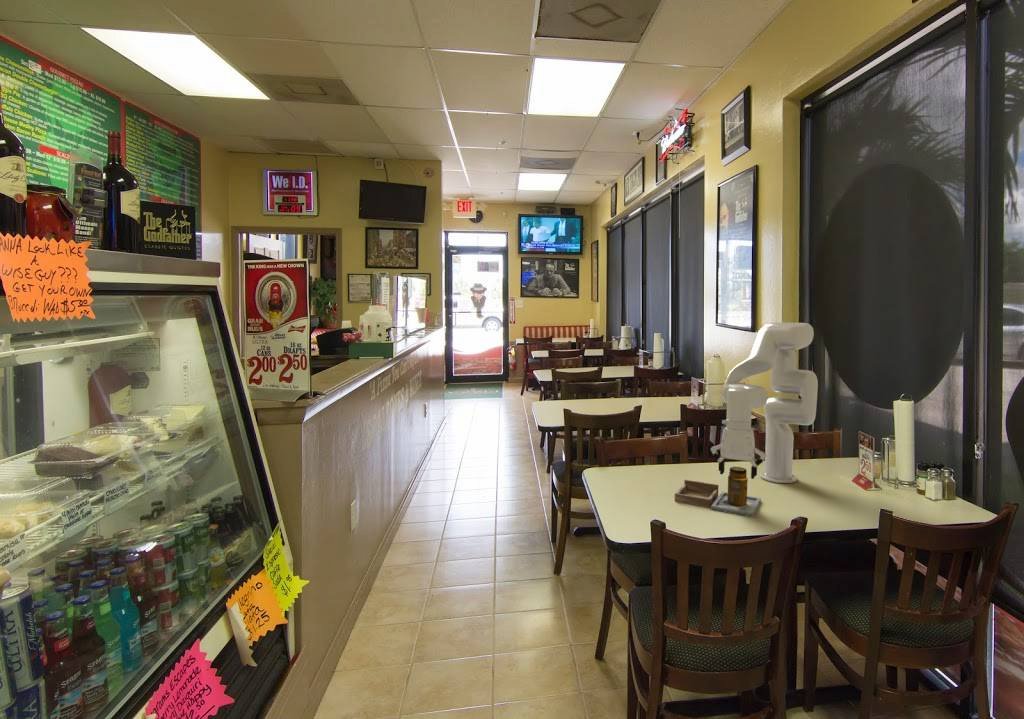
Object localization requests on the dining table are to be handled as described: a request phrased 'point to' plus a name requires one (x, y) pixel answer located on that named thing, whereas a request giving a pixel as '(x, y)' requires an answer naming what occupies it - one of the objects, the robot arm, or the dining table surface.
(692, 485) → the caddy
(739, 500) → the condiment
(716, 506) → the tray
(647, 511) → the dining table surface
